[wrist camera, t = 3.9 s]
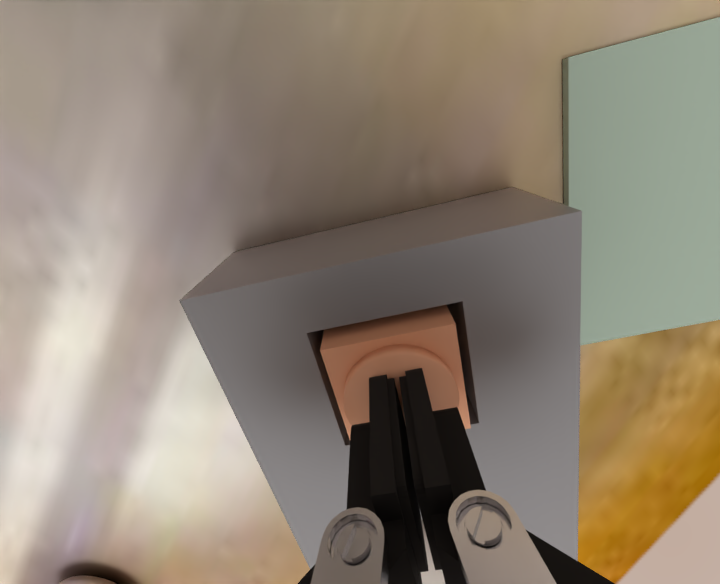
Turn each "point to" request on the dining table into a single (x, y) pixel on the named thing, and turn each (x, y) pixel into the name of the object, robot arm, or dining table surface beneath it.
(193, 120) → the dining table surface
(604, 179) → the mat
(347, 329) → the square push button
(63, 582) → the plastic bottle
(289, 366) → the housing
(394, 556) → the robot arm
